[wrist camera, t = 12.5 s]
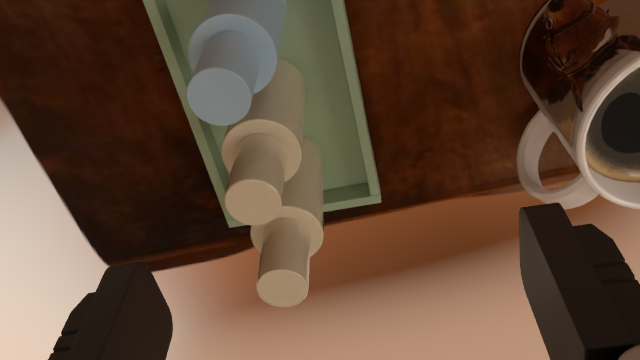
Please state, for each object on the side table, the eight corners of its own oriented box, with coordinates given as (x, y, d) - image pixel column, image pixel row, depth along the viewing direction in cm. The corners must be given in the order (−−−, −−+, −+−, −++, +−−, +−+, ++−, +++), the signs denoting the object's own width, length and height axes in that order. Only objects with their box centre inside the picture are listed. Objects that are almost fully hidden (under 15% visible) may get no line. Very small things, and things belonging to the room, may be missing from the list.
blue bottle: (205, -24, 36) (152, 60, 25) (276, -40, 35) (253, 39, 24) (227, 44, 38) (187, 149, 27) (294, 31, 37) (280, 132, 27)
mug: (678, 99, 40) (782, 192, 31) (501, 149, 43) (549, 250, 34) (673, -54, 35) (797, 5, 26) (471, 14, 37) (518, 90, 28)
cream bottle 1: (231, 64, 39) (194, 174, 28) (297, 51, 38) (286, 157, 27) (250, 123, 41) (222, 244, 30) (312, 111, 40) (307, 231, 30)
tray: (142, -40, 36) (131, -29, 34) (328, -82, 34) (328, -74, 32) (233, 208, 46) (229, 228, 44) (379, 183, 44) (381, 202, 42)
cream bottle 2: (255, 140, 42) (231, 265, 31) (316, 129, 41) (313, 252, 30) (271, 190, 44) (253, 322, 33) (329, 180, 44) (330, 311, 33)
